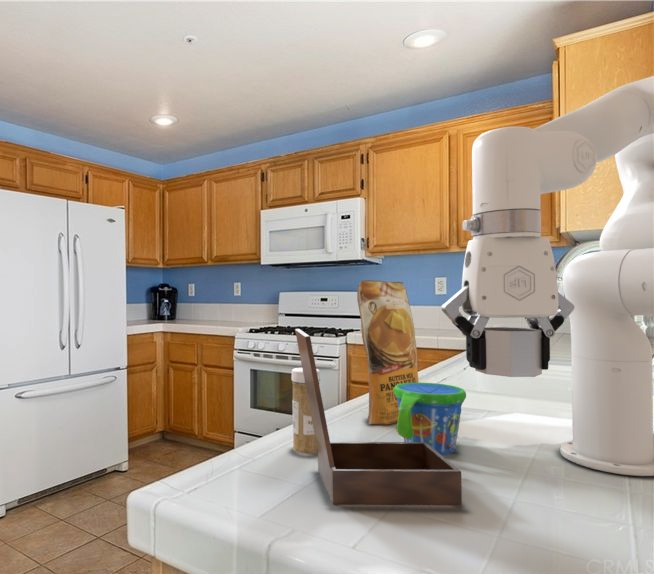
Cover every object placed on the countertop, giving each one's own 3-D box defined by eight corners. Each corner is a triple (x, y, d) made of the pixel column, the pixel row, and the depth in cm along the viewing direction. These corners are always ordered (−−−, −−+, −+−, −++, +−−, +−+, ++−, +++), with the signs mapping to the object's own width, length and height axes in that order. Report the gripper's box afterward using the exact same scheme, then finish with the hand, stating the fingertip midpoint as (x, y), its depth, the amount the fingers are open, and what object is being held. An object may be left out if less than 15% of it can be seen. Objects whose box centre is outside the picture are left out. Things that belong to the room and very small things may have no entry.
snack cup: (429, 434, 88) (428, 377, 88) (488, 450, 79) (487, 387, 80) (371, 450, 80) (370, 388, 80) (429, 470, 71) (429, 399, 71)
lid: (299, 328, 70) (294, 329, 70) (310, 336, 59) (305, 336, 59) (319, 439, 70) (315, 439, 70) (334, 467, 59) (329, 468, 59)
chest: (426, 474, 69) (426, 442, 69) (462, 510, 58) (461, 471, 58) (318, 474, 70) (317, 441, 70) (332, 509, 59) (332, 470, 59)
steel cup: (520, 367, 66) (519, 326, 66) (552, 376, 59) (551, 331, 59) (468, 367, 66) (467, 327, 66) (494, 377, 59) (493, 331, 59)
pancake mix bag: (347, 421, 97) (345, 280, 97) (405, 407, 108) (403, 280, 108) (374, 429, 92) (373, 279, 92) (433, 413, 103) (431, 279, 103)
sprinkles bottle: (317, 458, 76) (317, 371, 76) (289, 455, 78) (288, 370, 78) (323, 449, 81) (322, 367, 81) (295, 446, 82) (295, 366, 82)
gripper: (449, 225, 59) (450, 373, 59) (597, 223, 59) (599, 372, 58) (425, 232, 67) (427, 364, 67) (556, 230, 66) (558, 363, 66)
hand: (507, 367), depth 63 cm, fingers closed on steel cup, 6 cm apart
